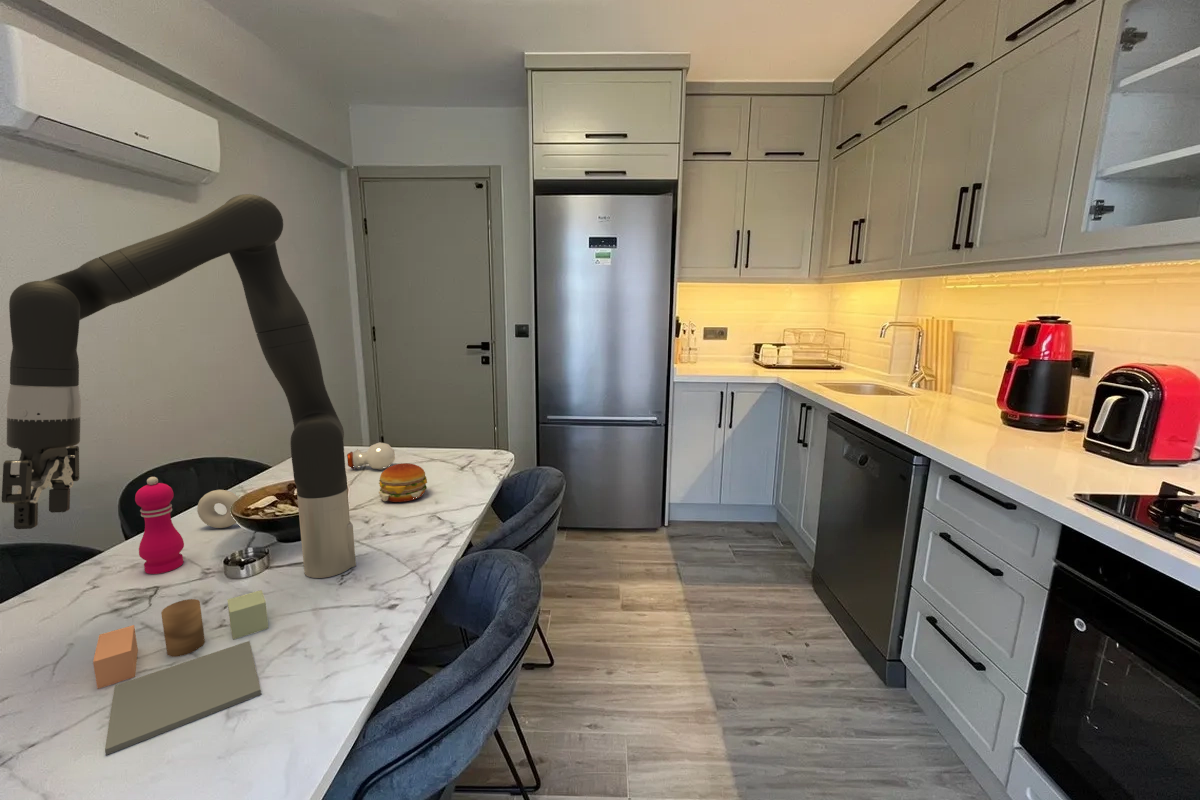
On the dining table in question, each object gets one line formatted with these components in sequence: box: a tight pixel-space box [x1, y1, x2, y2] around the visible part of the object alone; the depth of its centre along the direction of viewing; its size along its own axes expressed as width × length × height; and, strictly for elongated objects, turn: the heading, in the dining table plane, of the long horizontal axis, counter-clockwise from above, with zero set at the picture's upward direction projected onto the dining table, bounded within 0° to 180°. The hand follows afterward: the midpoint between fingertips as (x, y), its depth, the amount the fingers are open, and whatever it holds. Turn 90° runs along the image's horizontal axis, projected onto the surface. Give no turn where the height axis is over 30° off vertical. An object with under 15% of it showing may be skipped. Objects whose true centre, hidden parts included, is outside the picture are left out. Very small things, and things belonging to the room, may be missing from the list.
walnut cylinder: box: [160, 598, 206, 658], centre depth 81 cm, size 5×5×7 cm
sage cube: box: [226, 589, 269, 640], centre depth 87 cm, size 5×5×5 cm
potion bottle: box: [346, 441, 396, 471], centre depth 176 cm, size 9×10×15 cm
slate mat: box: [104, 640, 262, 756], centre depth 72 cm, size 16×14×1 cm
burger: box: [378, 462, 428, 503], centre depth 149 cm, size 14×14×10 cm
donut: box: [197, 489, 240, 529], centre depth 126 cm, size 10×3×10 cm, turn 98°
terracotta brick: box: [92, 624, 139, 690], centre depth 77 cm, size 8×4×4 cm, turn 40°
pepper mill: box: [134, 476, 185, 575], centre depth 106 cm, size 7×7×20 cm
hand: (43, 519), depth 77 cm, fingers open, 8 cm apart
